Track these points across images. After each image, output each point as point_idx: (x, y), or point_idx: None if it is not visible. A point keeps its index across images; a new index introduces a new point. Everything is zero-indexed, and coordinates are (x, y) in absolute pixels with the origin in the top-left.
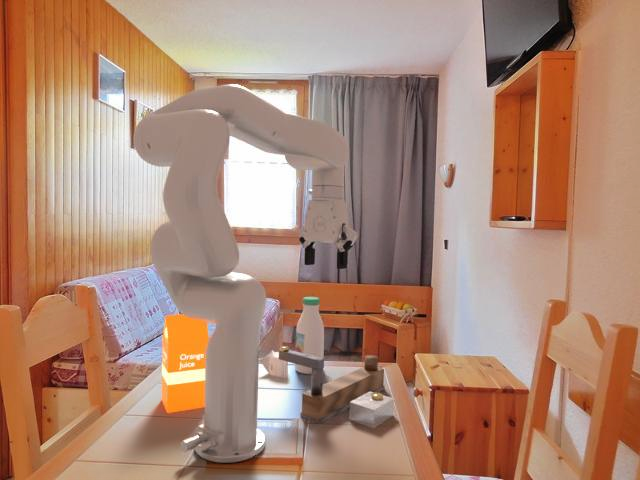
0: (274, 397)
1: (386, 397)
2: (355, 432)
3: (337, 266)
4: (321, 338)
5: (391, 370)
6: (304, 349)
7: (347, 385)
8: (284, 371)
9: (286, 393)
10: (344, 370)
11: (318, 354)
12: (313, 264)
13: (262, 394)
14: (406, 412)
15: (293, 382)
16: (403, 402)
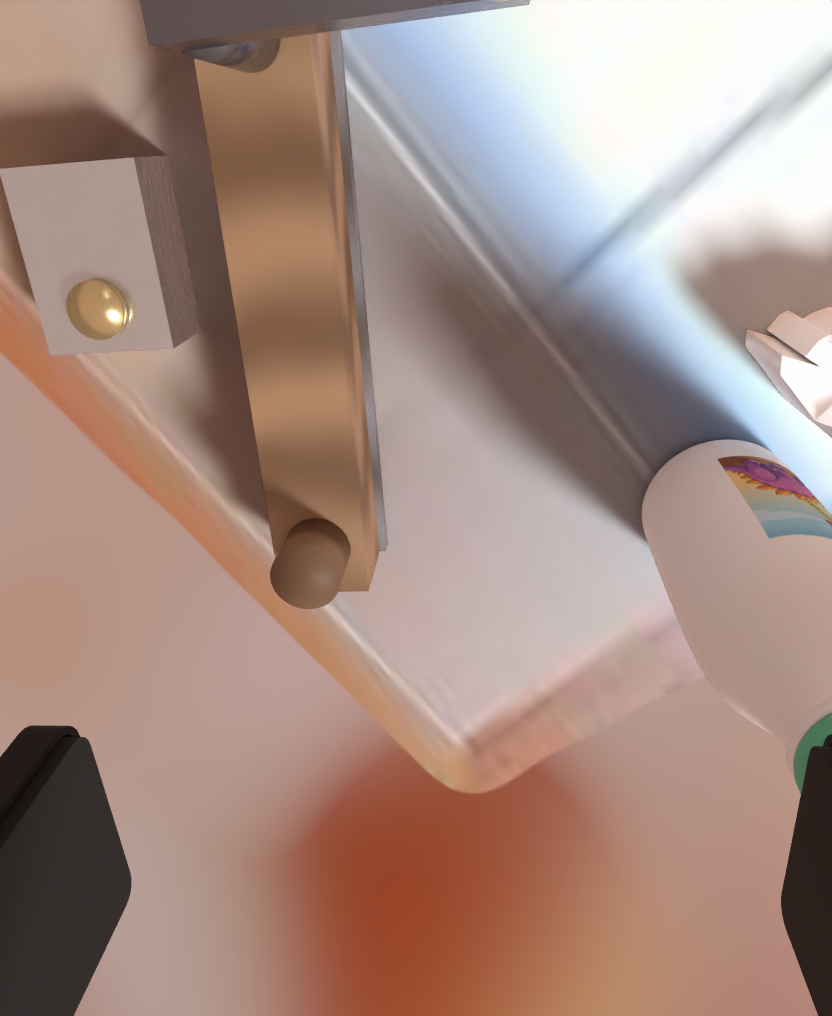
0: (607, 71)
1: (75, 340)
2: (58, 64)
3: (39, 743)
4: (678, 606)
5: (413, 735)
6: (736, 495)
7: (233, 273)
8: (765, 340)
9: (594, 167)
10: (571, 612)
11: (662, 539)
12: (793, 892)
13: (690, 48)
14: (78, 402)
15: (667, 315)
16: (153, 479)
